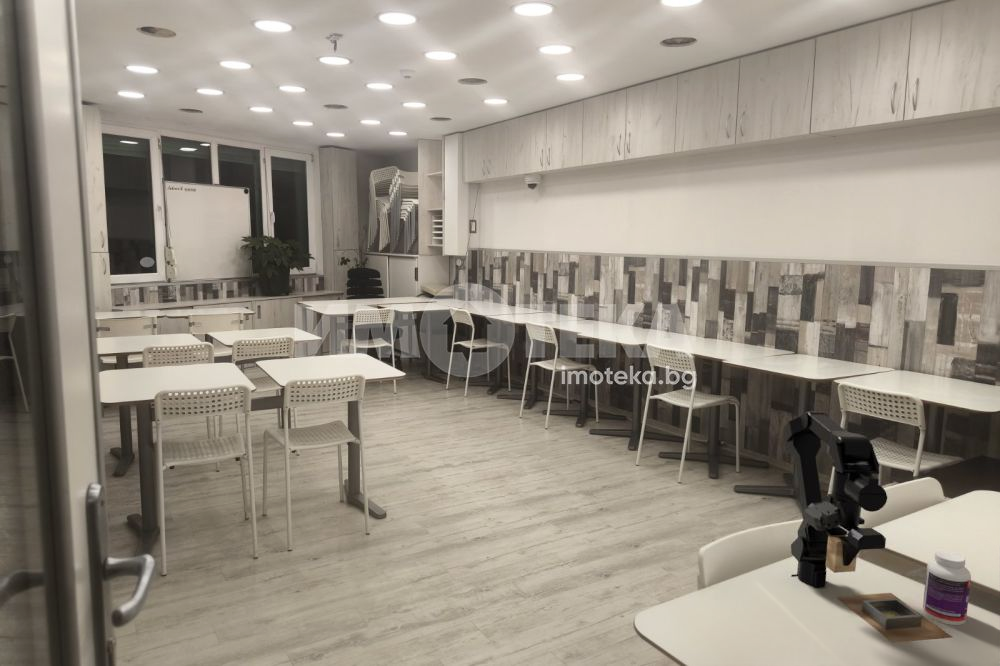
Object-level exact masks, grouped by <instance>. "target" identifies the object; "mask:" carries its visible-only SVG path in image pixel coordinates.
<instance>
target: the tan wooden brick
mask: <svg viewBox="0 0 1000 666" xmlns="http://www.w3.org/2000/svg"><path fill="white" fill-rule="evenodd" d="M841 536H846V535H835V536H828V545H827V556H826V569H827V568H828V569H829V570H830V571H831V572H833V573H846V572H847V573H853V572H856V567H857V558H858V557H857V556H858V554H857V555H856V557H855V558H854V559H853V561H852V562H851V563H850V565H849V566H844V565H843V543H842V542H841V541H840V539H839V538H838V537H841Z"/></svg>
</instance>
